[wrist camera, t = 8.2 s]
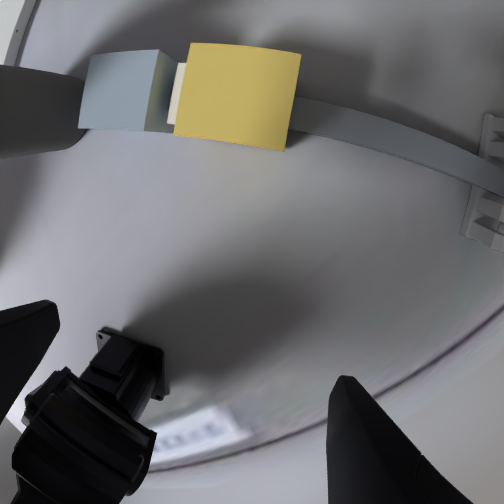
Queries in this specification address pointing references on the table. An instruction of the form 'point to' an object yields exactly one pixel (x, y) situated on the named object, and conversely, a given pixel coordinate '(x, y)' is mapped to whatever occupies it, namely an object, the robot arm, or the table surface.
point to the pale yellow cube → (237, 94)
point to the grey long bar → (302, 119)
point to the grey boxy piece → (484, 202)
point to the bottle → (38, 111)
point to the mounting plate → (13, 27)
